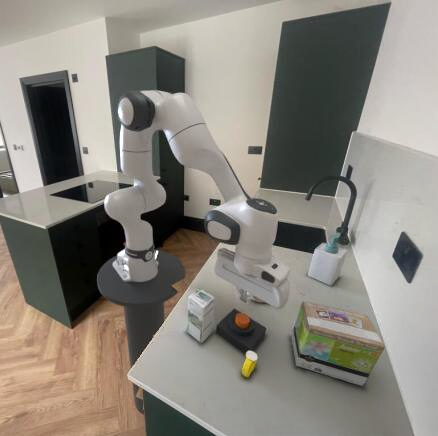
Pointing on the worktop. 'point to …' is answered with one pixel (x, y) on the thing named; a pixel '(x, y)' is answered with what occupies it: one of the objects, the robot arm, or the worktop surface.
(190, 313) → the syrup box
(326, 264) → the soap bottle
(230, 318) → the button base
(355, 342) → the tea box
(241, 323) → the orange button cap
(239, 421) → the worktop surface
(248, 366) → the yellow chunky piece
